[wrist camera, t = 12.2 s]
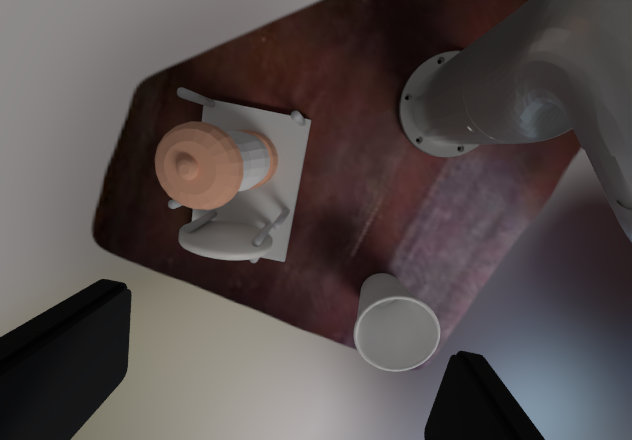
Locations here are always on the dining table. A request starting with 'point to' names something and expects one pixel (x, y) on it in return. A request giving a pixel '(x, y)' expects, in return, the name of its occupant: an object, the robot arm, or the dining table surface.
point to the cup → (394, 325)
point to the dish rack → (252, 204)
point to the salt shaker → (212, 163)
